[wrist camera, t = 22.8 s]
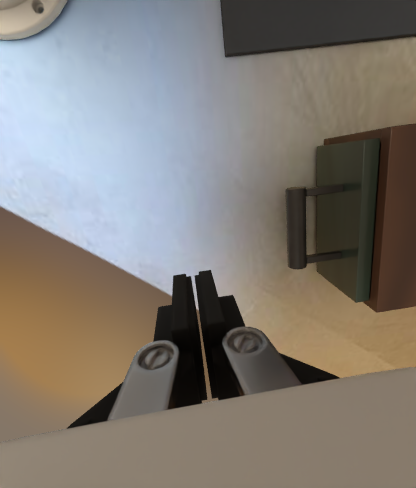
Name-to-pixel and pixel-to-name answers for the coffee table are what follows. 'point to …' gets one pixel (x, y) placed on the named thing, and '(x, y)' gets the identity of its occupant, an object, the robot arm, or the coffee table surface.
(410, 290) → the cabinet
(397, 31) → the mat
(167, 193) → the coffee table surface
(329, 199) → the drawer
